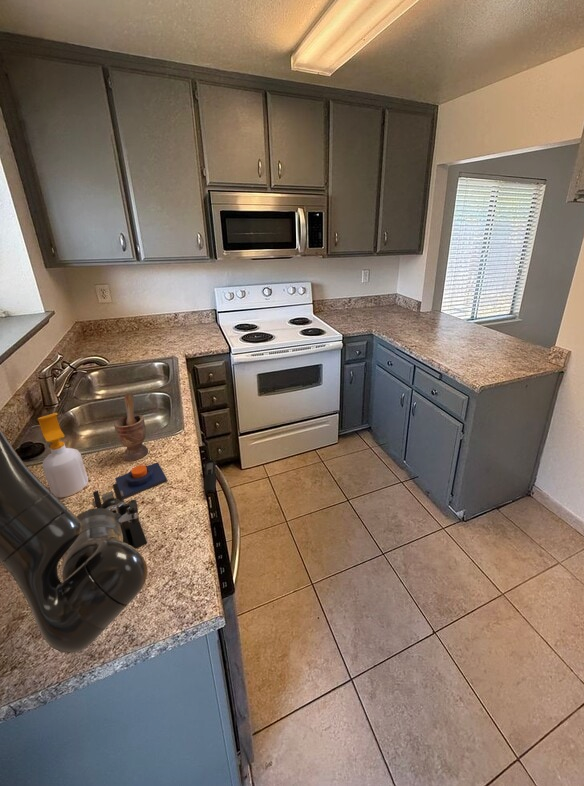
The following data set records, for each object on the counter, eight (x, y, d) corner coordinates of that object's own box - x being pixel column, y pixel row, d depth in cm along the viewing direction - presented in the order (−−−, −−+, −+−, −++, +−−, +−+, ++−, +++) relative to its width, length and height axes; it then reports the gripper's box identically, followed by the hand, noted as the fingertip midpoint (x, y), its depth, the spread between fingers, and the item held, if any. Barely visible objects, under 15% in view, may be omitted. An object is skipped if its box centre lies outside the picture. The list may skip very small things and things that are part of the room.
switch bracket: (148, 547, 85) (136, 497, 80) (100, 570, 79) (83, 519, 74) (137, 516, 94) (125, 470, 89) (93, 536, 88) (78, 488, 83)
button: (133, 480, 102) (132, 475, 102) (131, 473, 105) (129, 468, 105) (148, 474, 105) (147, 470, 104) (145, 468, 108) (144, 463, 107)
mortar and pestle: (118, 449, 123) (105, 397, 117) (145, 440, 128) (134, 389, 121) (124, 465, 115) (111, 410, 108) (153, 455, 120) (142, 402, 113)
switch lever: (123, 513, 74) (118, 496, 74) (103, 521, 72) (98, 504, 72) (118, 501, 85) (114, 487, 85) (101, 508, 82) (97, 493, 82)
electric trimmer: (203, 500, 100) (201, 491, 99) (204, 465, 114) (203, 457, 113) (217, 497, 101) (215, 488, 100) (216, 463, 115) (215, 455, 114)
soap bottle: (56, 503, 99) (29, 426, 91) (48, 488, 105) (23, 414, 97) (92, 486, 105) (71, 413, 97) (83, 473, 111) (62, 403, 103)
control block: (123, 503, 99) (119, 491, 98) (116, 484, 106) (113, 472, 105) (167, 484, 106) (165, 473, 104) (159, 467, 113) (156, 457, 112)
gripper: (142, 501, 58) (131, 480, 71) (30, 534, 50) (41, 504, 63) (148, 547, 58) (135, 518, 71) (36, 588, 50) (45, 546, 63)
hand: (91, 511), depth 67 cm, fingers open, 8 cm apart
